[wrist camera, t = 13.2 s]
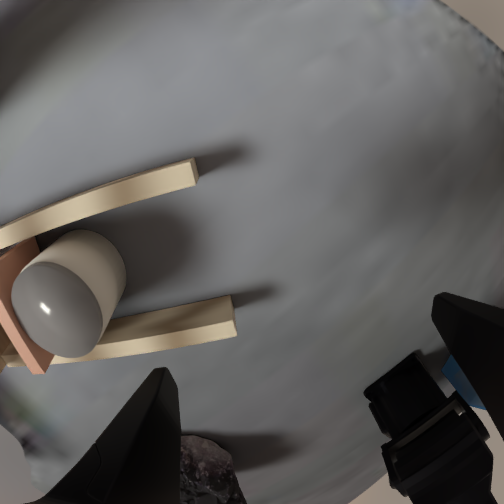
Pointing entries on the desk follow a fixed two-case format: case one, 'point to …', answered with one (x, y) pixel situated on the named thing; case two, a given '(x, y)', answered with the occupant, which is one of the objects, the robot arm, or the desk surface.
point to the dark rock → (207, 474)
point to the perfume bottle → (461, 383)
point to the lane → (141, 325)
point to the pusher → (3, 276)
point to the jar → (70, 293)
